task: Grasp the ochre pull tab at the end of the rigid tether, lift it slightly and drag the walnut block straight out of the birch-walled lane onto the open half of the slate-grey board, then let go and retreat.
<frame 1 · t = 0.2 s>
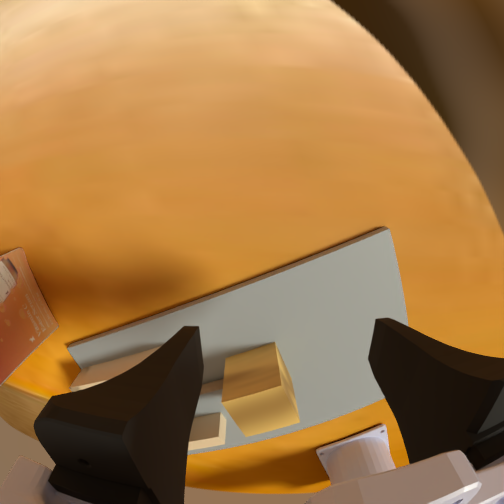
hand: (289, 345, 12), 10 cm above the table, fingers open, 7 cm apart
walnut block with tether: (148, 398, 23), point 1 cm above the table, touching shelf board with lane
small box: (24, 293, 22), on the table
shelf board with lane: (246, 376, 24), on the table
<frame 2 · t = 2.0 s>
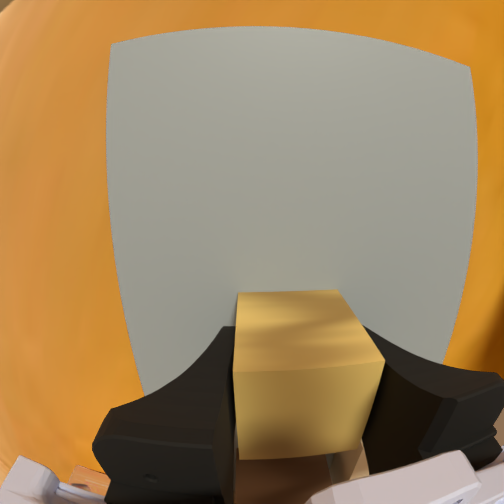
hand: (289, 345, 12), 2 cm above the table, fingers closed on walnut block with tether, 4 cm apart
walnut block with tether: (278, 467, 15), point 1 cm above the table, touching gripper, shelf board with lane
small box: (124, 487, 18), on the table
shelf board with lane: (304, 351, 14), on the table
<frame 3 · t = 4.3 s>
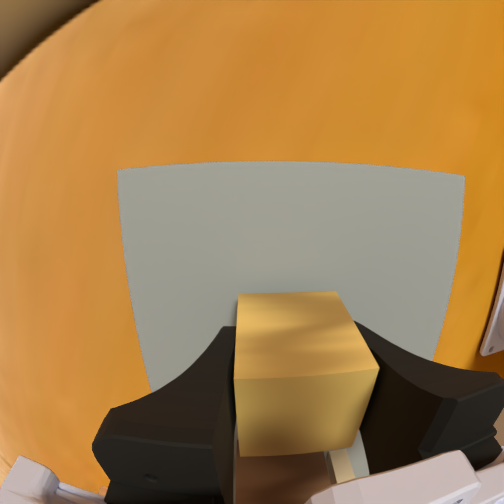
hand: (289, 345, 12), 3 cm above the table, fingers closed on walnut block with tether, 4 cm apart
walnut block with tether: (277, 458, 16), point 1 cm above the table, touching gripper, shelf board with lane
shelf board with lane: (294, 413, 16), on the table
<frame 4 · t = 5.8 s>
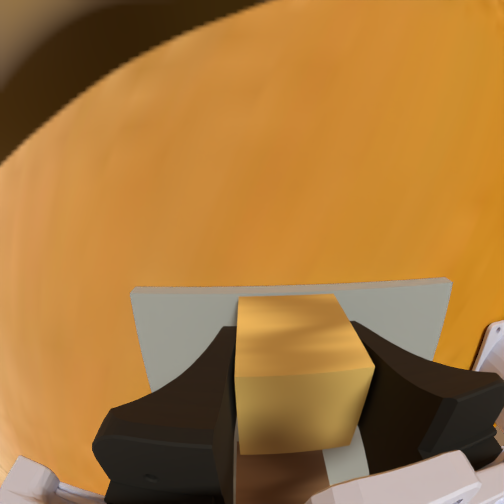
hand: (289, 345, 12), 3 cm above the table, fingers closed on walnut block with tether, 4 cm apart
walnut block with tether: (276, 460, 16), point 1 cm above the table, touching gripper, shelf board with lane
shelf board with lane: (288, 461, 18), on the table
when the fingers open (3 cm above the table, at t = 6.8 s): walnut block with tether stays where it is, resting on shelf board with lane.
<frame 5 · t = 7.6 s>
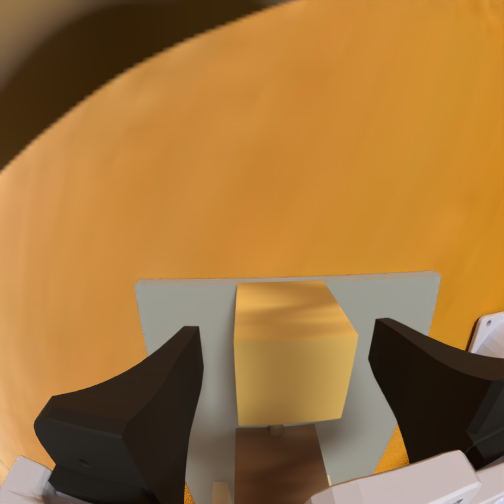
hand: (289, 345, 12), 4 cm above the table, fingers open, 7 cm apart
walnut block with tether: (274, 448, 17), point 1 cm above the table, touching shelf board with lane
shelf board with lane: (286, 451, 18), on the table
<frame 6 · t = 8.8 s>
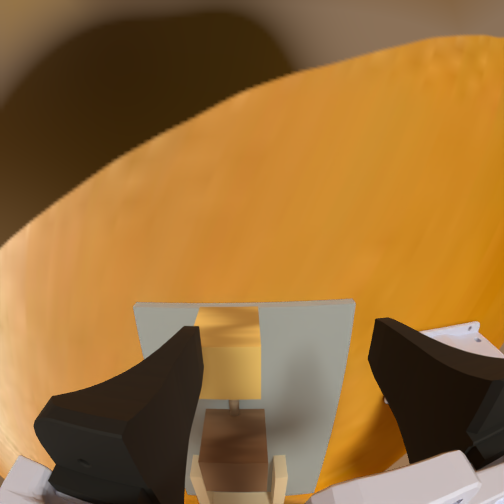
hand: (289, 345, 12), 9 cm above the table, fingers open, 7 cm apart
walnut block with tether: (236, 426, 24), point 1 cm above the table, touching shelf board with lane
shelf board with lane: (247, 431, 25), on the table
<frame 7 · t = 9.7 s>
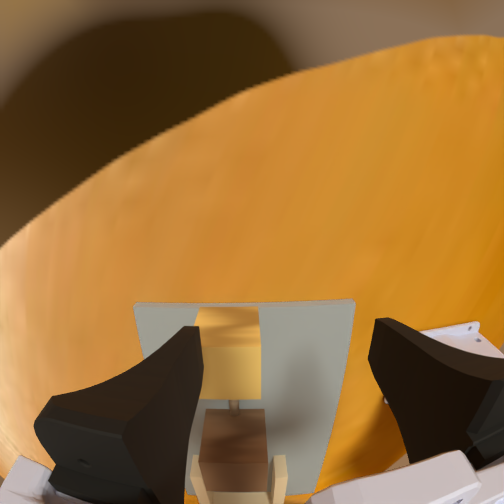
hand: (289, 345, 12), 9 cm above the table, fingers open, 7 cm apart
walnut block with tether: (236, 426, 24), point 1 cm above the table, touching shelf board with lane
shelf board with lane: (247, 431, 25), on the table
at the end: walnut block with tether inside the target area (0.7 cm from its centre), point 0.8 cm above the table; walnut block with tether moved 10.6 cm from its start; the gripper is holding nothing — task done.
